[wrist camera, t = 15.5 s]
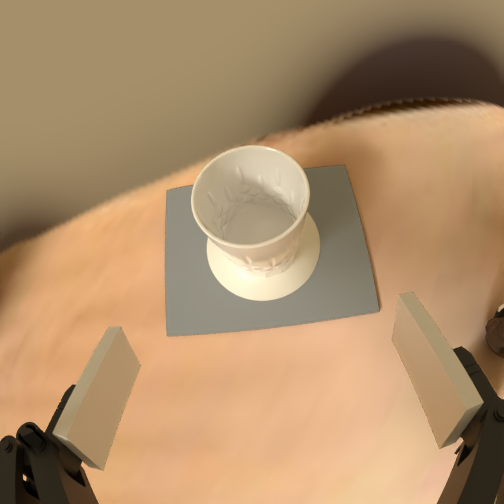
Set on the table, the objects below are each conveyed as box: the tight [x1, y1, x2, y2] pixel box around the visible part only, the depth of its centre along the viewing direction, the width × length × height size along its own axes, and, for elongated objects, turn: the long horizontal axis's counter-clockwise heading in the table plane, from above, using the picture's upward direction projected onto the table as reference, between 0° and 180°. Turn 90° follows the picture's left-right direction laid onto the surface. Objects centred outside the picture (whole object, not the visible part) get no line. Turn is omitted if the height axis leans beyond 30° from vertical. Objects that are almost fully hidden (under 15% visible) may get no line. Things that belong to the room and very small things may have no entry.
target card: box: [165, 165, 379, 337], centre depth 29 cm, size 20×16×1 cm
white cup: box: [191, 145, 310, 278], centre depth 24 cm, size 8×8×10 cm
